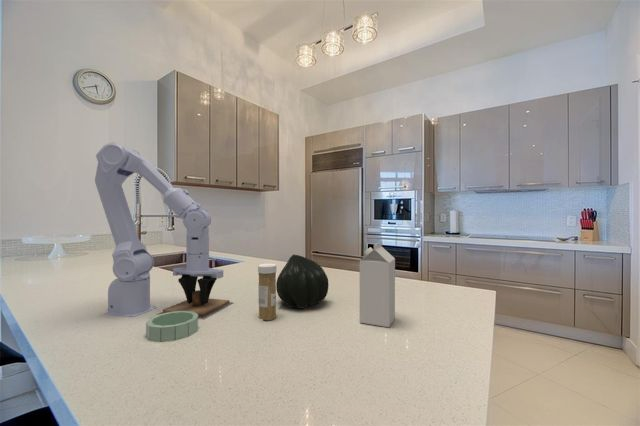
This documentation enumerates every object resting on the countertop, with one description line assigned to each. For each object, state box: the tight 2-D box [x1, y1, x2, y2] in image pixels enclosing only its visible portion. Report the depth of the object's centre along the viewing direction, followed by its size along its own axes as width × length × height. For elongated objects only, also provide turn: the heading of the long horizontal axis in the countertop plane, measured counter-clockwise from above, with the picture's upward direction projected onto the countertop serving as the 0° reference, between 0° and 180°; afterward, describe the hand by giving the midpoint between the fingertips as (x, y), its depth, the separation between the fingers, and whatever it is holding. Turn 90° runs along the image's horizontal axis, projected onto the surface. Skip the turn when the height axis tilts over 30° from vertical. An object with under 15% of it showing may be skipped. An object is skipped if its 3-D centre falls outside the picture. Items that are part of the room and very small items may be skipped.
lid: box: [162, 289, 230, 318], centre depth 81 cm, size 12×12×4 cm
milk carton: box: [359, 241, 396, 328], centre depth 73 cm, size 7×7×19 cm
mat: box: [155, 301, 234, 321], centre depth 81 cm, size 14×14×1 cm
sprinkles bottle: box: [257, 262, 277, 321], centre depth 75 cm, size 5×5×14 cm
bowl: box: [145, 311, 199, 342], centre depth 65 cm, size 10×10×3 cm
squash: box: [276, 254, 329, 309], centre depth 87 cm, size 14×15×15 cm
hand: (197, 303), depth 81 cm, fingers open, 4 cm apart
